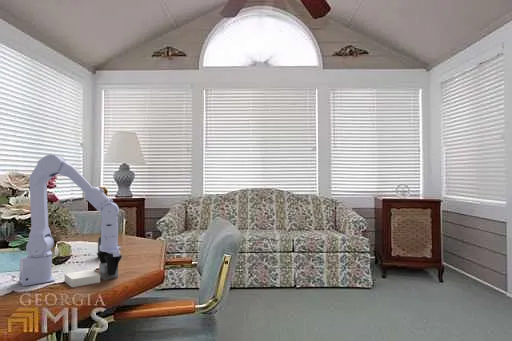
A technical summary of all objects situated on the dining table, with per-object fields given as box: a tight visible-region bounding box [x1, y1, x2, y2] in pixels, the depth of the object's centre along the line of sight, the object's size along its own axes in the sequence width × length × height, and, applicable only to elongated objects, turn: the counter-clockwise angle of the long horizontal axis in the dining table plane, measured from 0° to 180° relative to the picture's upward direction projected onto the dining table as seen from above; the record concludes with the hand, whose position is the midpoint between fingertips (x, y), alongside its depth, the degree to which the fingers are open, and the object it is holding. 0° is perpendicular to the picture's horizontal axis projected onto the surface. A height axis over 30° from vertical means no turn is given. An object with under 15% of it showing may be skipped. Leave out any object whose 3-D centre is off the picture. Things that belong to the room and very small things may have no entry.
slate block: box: [98, 262, 119, 281], centre depth 129 cm, size 5×5×5 cm
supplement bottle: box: [97, 233, 101, 259], centre depth 162 cm, size 7×7×12 cm
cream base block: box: [63, 269, 101, 288], centre depth 123 cm, size 9×9×3 cm
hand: (108, 273), depth 129 cm, fingers open, 6 cm apart
